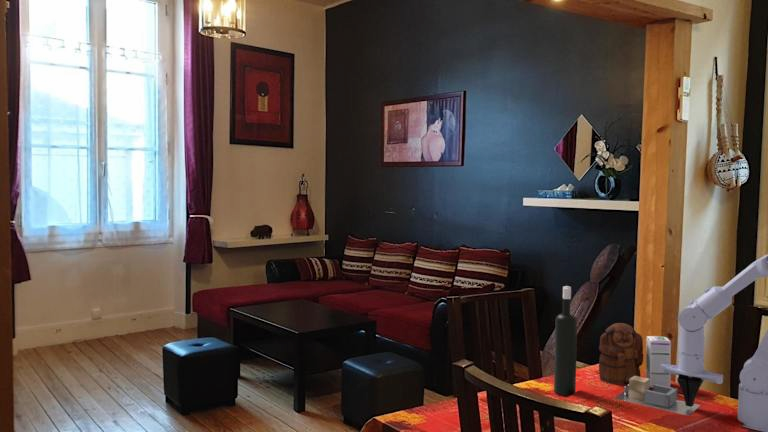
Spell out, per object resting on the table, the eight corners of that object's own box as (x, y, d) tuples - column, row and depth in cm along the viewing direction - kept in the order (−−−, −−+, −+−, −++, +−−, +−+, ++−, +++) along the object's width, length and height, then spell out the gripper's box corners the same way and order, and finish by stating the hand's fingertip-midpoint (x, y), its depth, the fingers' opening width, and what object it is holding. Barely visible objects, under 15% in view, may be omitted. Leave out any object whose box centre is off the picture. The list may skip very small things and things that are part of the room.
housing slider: (677, 399, 168) (677, 388, 168) (668, 407, 163) (668, 395, 163) (653, 394, 172) (654, 383, 172) (644, 401, 167) (644, 390, 167)
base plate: (700, 408, 166) (700, 395, 165) (689, 419, 158) (689, 405, 158) (627, 392, 178) (627, 380, 178) (613, 401, 170) (613, 389, 170)
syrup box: (671, 392, 179) (672, 341, 178) (648, 390, 180) (650, 340, 179) (666, 385, 184) (667, 336, 184) (644, 384, 186) (646, 335, 185)
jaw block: (649, 396, 172) (649, 378, 171) (644, 400, 169) (644, 382, 168) (634, 393, 174) (634, 375, 174) (628, 397, 171) (629, 379, 171)
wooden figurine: (607, 388, 181) (608, 326, 180) (596, 381, 188) (598, 321, 187) (645, 387, 183) (647, 325, 182) (634, 380, 189) (636, 320, 188)
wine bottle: (554, 395, 175) (557, 287, 174) (553, 388, 181) (555, 284, 179) (576, 396, 174) (579, 288, 173) (574, 390, 180) (576, 285, 178)
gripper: (726, 355, 160) (724, 407, 161) (666, 345, 170) (665, 394, 171) (719, 360, 155) (717, 415, 156) (658, 350, 165) (656, 401, 165)
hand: (689, 405), depth 163 cm, fingers closed
